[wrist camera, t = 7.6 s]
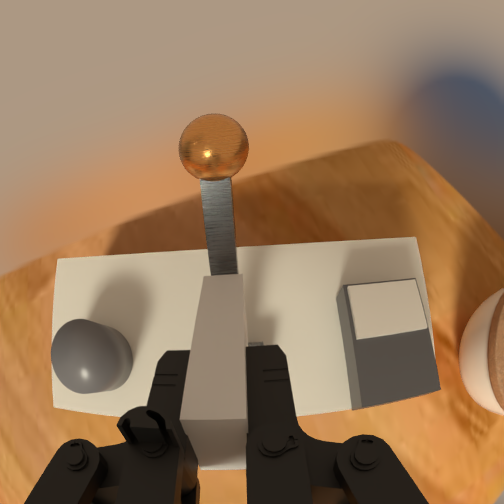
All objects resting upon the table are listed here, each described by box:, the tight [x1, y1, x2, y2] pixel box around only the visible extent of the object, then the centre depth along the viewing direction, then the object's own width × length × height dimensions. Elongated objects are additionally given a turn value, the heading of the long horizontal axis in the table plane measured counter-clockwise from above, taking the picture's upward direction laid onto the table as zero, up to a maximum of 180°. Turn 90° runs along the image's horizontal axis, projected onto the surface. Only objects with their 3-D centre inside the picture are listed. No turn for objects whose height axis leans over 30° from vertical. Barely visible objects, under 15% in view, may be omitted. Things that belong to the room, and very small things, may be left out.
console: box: [52, 237, 435, 417], centre depth 20 cm, size 24×10×6 cm, turn 93°
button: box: [51, 319, 133, 394], centre depth 16 cm, size 4×4×3 cm
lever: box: [179, 114, 263, 347], centre depth 14 cm, size 3×3×13 cm
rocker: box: [336, 278, 441, 410], centre depth 15 cm, size 4×6×2 cm
